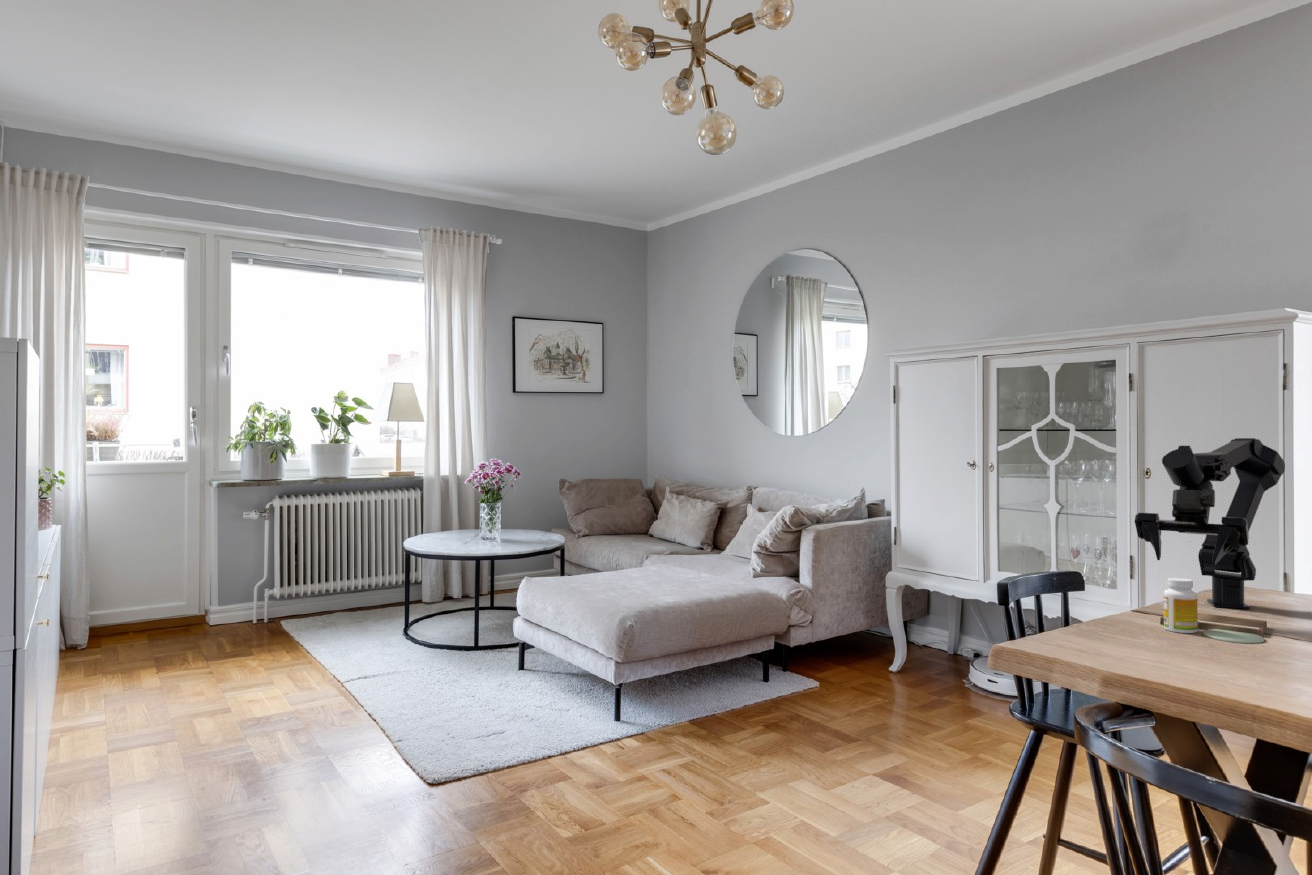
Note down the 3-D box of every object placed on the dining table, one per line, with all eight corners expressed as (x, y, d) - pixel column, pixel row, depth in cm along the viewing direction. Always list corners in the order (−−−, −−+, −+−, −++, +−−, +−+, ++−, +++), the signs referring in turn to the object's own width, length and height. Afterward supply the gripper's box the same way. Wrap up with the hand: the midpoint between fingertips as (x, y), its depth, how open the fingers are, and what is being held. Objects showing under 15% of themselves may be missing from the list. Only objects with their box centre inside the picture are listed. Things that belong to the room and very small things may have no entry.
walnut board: (1160, 623, 157) (1160, 617, 157) (1169, 615, 165) (1169, 609, 165) (1262, 636, 147) (1262, 629, 147) (1267, 627, 154) (1266, 620, 154)
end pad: (1198, 629, 153) (1198, 627, 153) (1255, 633, 149) (1255, 631, 149) (1210, 640, 144) (1210, 638, 144) (1271, 645, 141) (1271, 642, 141)
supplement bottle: (1204, 632, 151) (1204, 580, 151) (1184, 634, 149) (1184, 582, 149) (1176, 626, 156) (1176, 576, 156) (1157, 628, 154) (1156, 578, 154)
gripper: (1136, 473, 167) (1124, 531, 159) (1246, 476, 155) (1240, 538, 146) (1144, 509, 173) (1133, 566, 165) (1251, 514, 161) (1245, 576, 152)
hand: (1185, 561), depth 157 cm, fingers open, 9 cm apart
